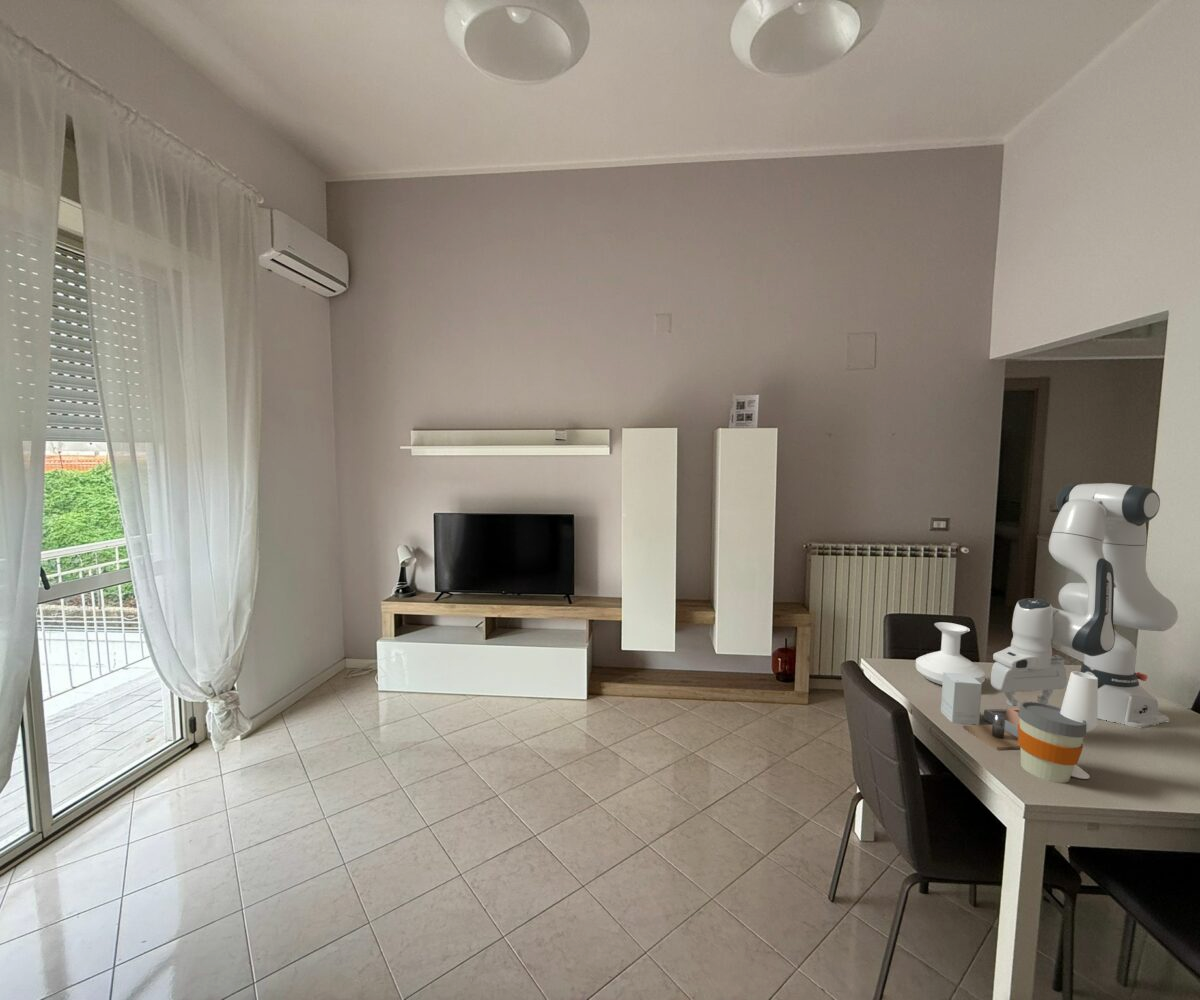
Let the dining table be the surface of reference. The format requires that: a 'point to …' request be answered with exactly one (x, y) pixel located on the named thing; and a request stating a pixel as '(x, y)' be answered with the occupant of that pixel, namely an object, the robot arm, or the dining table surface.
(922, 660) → the candle holder
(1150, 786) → the dining table surface
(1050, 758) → the reusable coffee cup
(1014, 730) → the tray
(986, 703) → the dining table surface
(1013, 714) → the collar
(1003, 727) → the cylinder
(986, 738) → the stake board
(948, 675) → the supplement box
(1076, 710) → the champagne flute
